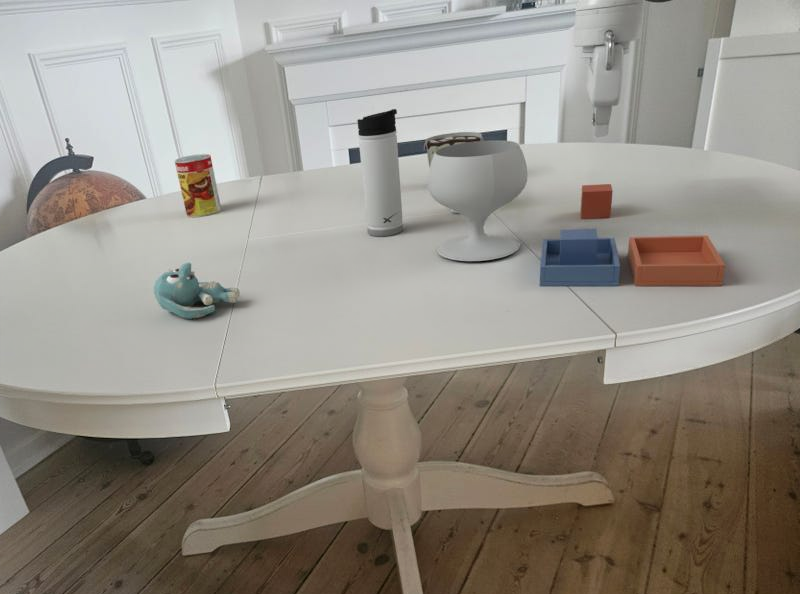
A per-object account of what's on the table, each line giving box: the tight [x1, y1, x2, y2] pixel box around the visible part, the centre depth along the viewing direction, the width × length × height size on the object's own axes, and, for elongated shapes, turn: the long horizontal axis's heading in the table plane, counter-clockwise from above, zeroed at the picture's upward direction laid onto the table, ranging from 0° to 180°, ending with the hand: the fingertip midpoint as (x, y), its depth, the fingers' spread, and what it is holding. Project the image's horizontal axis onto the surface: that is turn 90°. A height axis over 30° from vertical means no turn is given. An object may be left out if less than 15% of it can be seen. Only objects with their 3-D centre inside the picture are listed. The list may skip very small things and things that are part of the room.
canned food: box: [174, 153, 222, 218], centre depth 140 cm, size 8×8×12 cm
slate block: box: [559, 228, 599, 265], centre depth 82 cm, size 4×4×4 cm
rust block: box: [580, 183, 614, 220], centre depth 103 cm, size 4×4×4 cm
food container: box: [423, 131, 485, 169], centre depth 134 cm, size 12×6×10 cm, turn 80°
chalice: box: [427, 139, 528, 262], centre depth 93 cm, size 14×14×15 cm
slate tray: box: [539, 237, 621, 287], centre depth 83 cm, size 9×11×3 cm
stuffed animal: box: [153, 261, 241, 320], centre depth 88 cm, size 11×7×12 cm
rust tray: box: [627, 234, 726, 287], centre depth 79 cm, size 9×11×3 cm
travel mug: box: [357, 108, 404, 238], centre depth 106 cm, size 6×7×20 cm
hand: (599, 130), depth 97 cm, fingers open, 8 cm apart
